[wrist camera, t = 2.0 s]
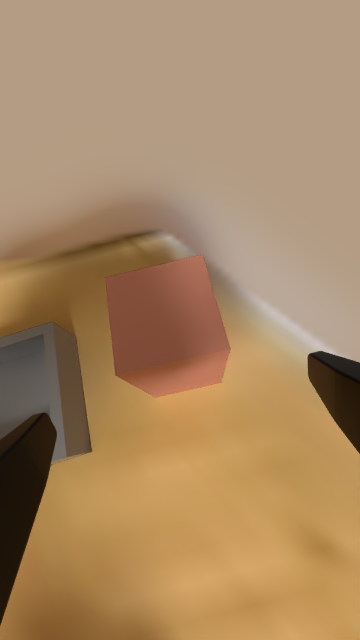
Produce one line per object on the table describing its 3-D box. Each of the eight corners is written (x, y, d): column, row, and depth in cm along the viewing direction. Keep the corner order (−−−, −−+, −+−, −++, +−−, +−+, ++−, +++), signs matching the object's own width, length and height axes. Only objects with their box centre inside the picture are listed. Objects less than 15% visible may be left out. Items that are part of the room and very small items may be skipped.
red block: (221, 382, 19) (230, 348, 11) (155, 397, 19) (115, 375, 11) (205, 322, 21) (202, 254, 13) (145, 335, 21) (105, 277, 13)
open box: (91, 451, 18) (66, 457, 15) (-32, 491, 18) (-84, 505, 15) (75, 336, 22) (52, 321, 19) (-28, 369, 22) (-69, 359, 18)
